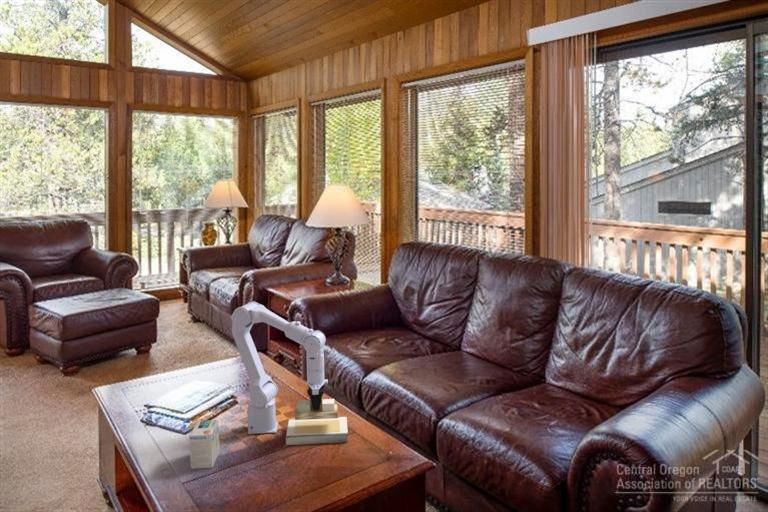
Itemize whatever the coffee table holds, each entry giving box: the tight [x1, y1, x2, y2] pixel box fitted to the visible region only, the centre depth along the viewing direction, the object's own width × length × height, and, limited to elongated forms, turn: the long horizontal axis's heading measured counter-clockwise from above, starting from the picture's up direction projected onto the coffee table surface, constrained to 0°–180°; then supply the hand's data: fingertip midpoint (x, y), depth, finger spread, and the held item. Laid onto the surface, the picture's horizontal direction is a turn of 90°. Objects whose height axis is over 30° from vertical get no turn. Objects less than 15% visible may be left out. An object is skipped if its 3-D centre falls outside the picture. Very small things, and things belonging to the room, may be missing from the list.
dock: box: [285, 416, 349, 446], centre depth 194 cm, size 20×14×3 cm
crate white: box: [322, 398, 335, 411], centre depth 193 cm, size 4×4×2 cm
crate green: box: [297, 399, 310, 412], centre depth 192 cm, size 4×4×2 cm
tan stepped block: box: [294, 397, 339, 420], centre depth 193 cm, size 14×7×6 cm, turn 95°
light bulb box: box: [188, 419, 220, 469], centre depth 177 cm, size 11×7×11 cm, turn 5°
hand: (316, 407), depth 193 cm, fingers closed on tan stepped block, 3 cm apart
